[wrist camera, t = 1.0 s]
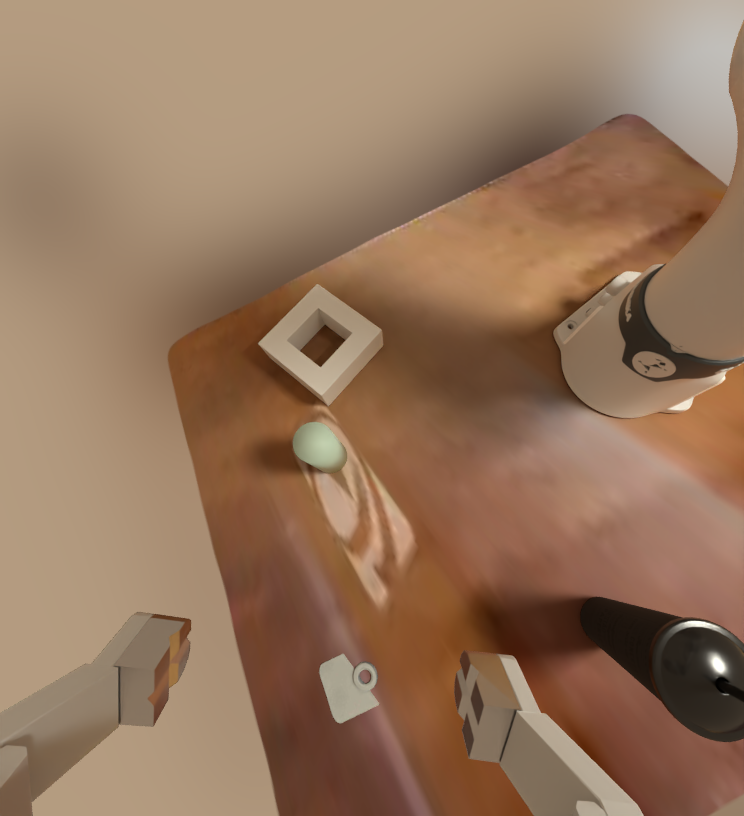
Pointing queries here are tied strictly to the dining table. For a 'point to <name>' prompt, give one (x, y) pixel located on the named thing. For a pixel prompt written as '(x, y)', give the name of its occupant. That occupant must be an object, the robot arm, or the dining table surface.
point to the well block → (303, 327)
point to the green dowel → (319, 447)
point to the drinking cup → (676, 663)
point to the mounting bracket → (347, 687)
